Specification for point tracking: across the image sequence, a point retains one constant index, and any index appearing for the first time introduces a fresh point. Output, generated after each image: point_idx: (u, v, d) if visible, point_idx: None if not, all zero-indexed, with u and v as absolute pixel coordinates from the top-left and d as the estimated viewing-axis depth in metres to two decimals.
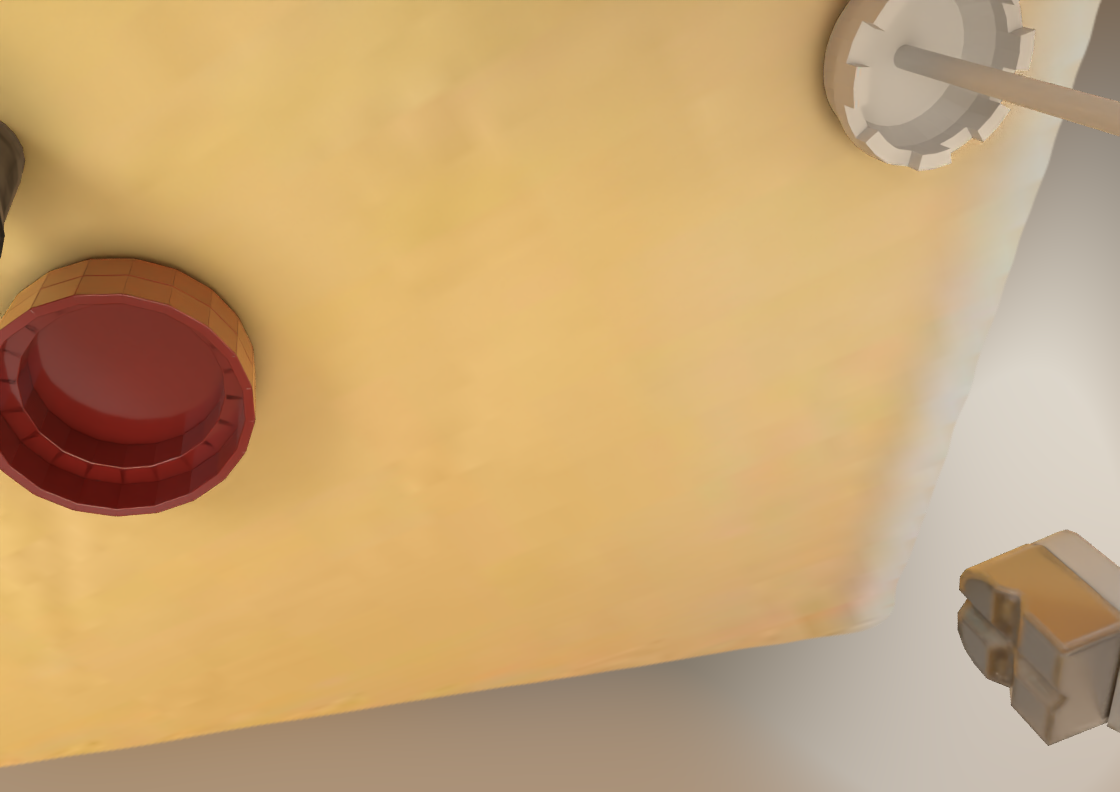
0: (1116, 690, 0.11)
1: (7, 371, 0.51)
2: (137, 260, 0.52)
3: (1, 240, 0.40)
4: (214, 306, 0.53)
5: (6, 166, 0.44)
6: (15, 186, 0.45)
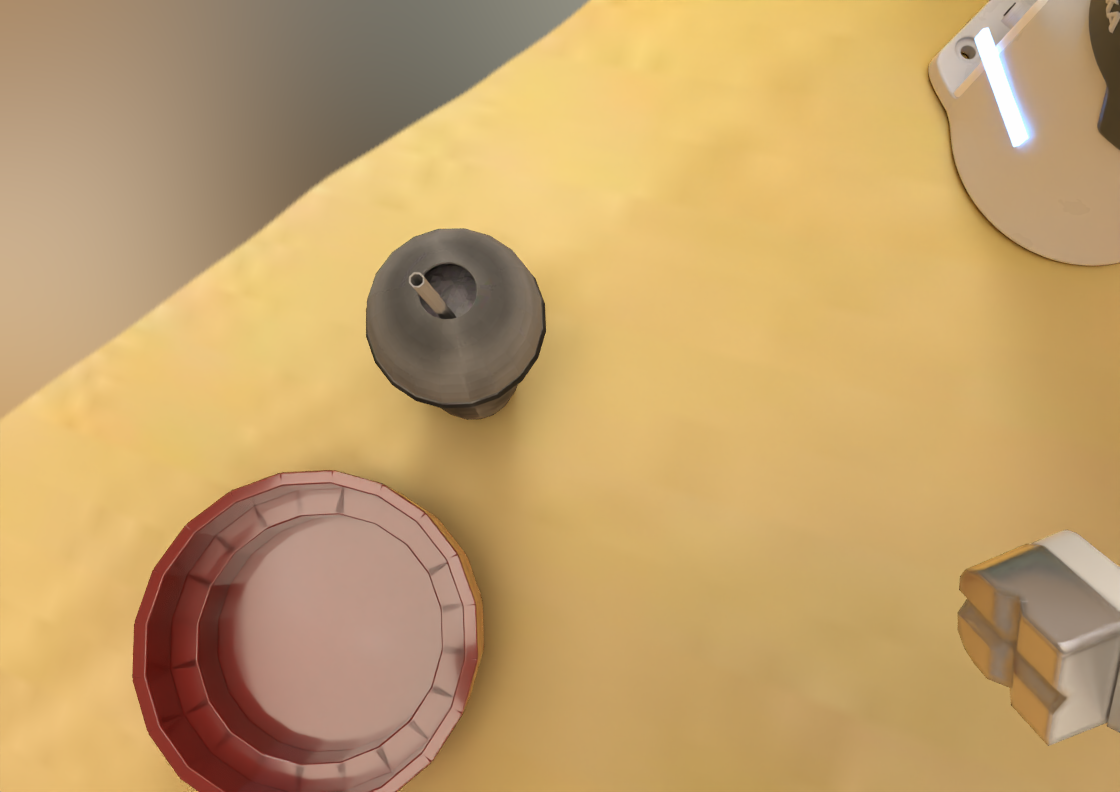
0: (1116, 690, 0.11)
1: (273, 513, 0.42)
2: (467, 558, 0.44)
3: (493, 397, 0.35)
4: (480, 658, 0.42)
5: (513, 388, 0.42)
6: (493, 407, 0.42)
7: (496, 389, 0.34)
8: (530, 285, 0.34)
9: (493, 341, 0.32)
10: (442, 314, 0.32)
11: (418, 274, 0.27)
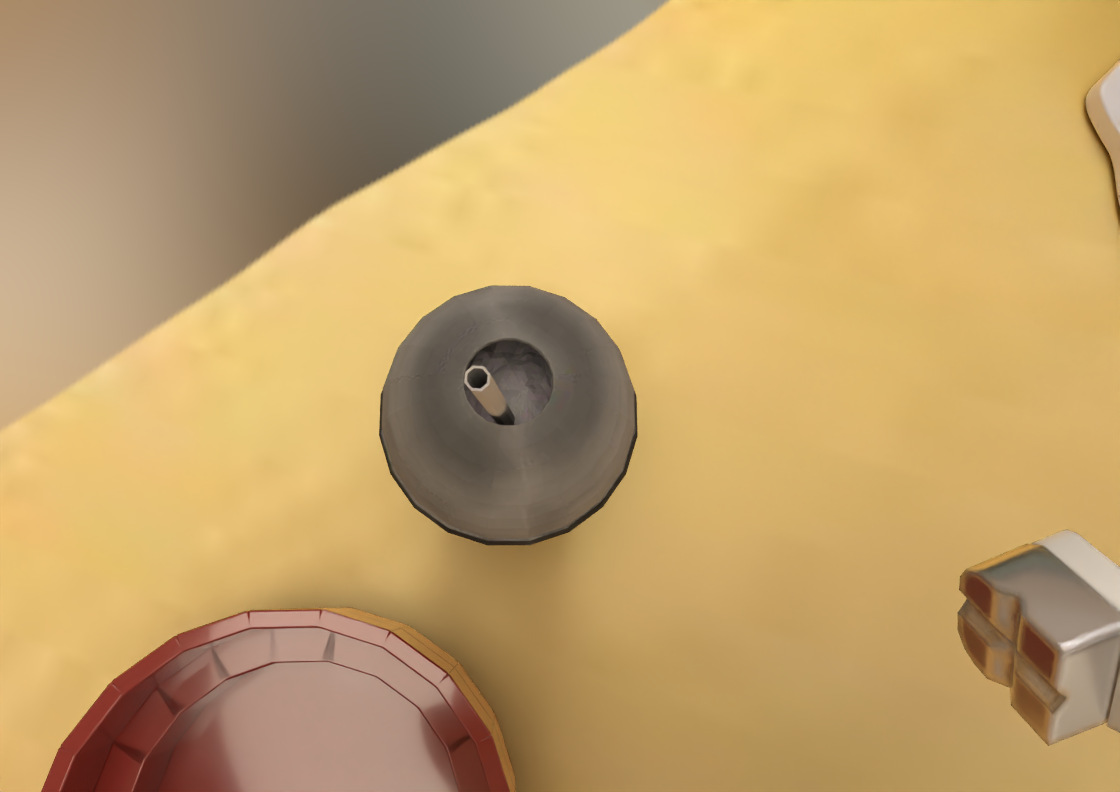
0: (1116, 690, 0.11)
1: (237, 658, 0.31)
2: (497, 720, 0.33)
3: (562, 531, 0.24)
4: None
5: None
6: None
7: (568, 522, 0.23)
8: (624, 372, 0.23)
9: (573, 459, 0.22)
10: (499, 416, 0.21)
11: (480, 368, 0.16)
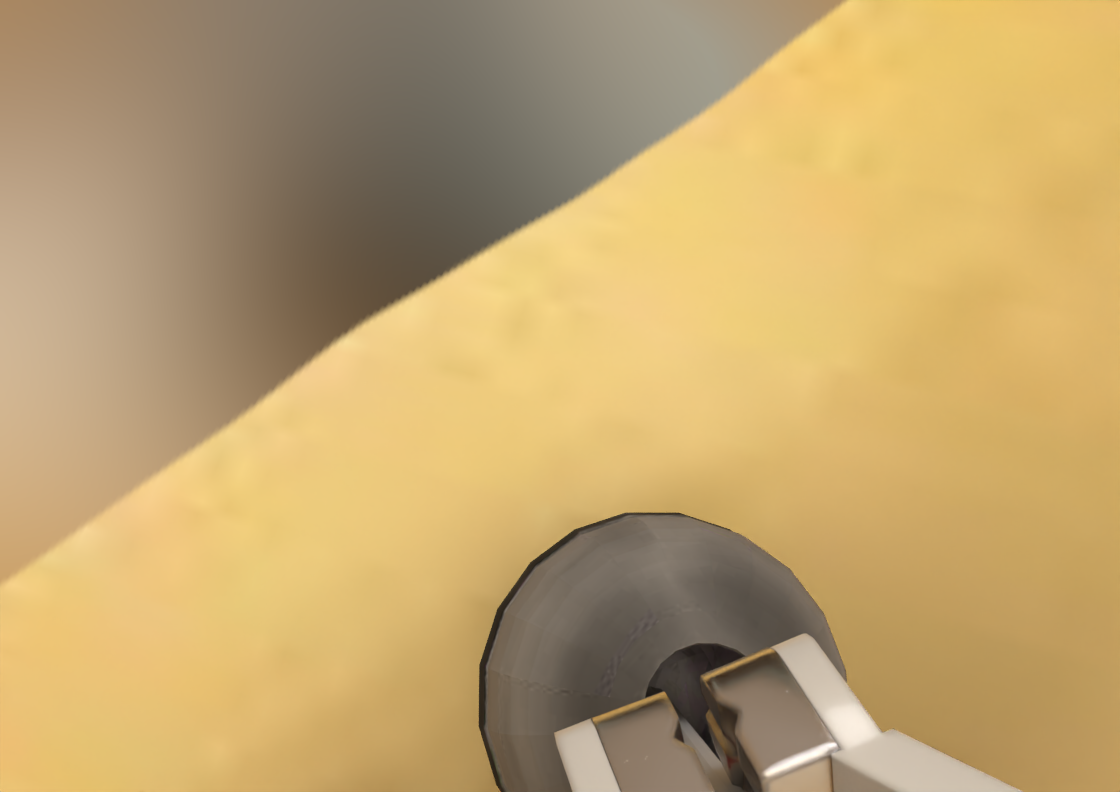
0: None
1: None
2: None
3: None
4: None
5: None
6: None
7: None
8: None
9: None
10: None
11: None
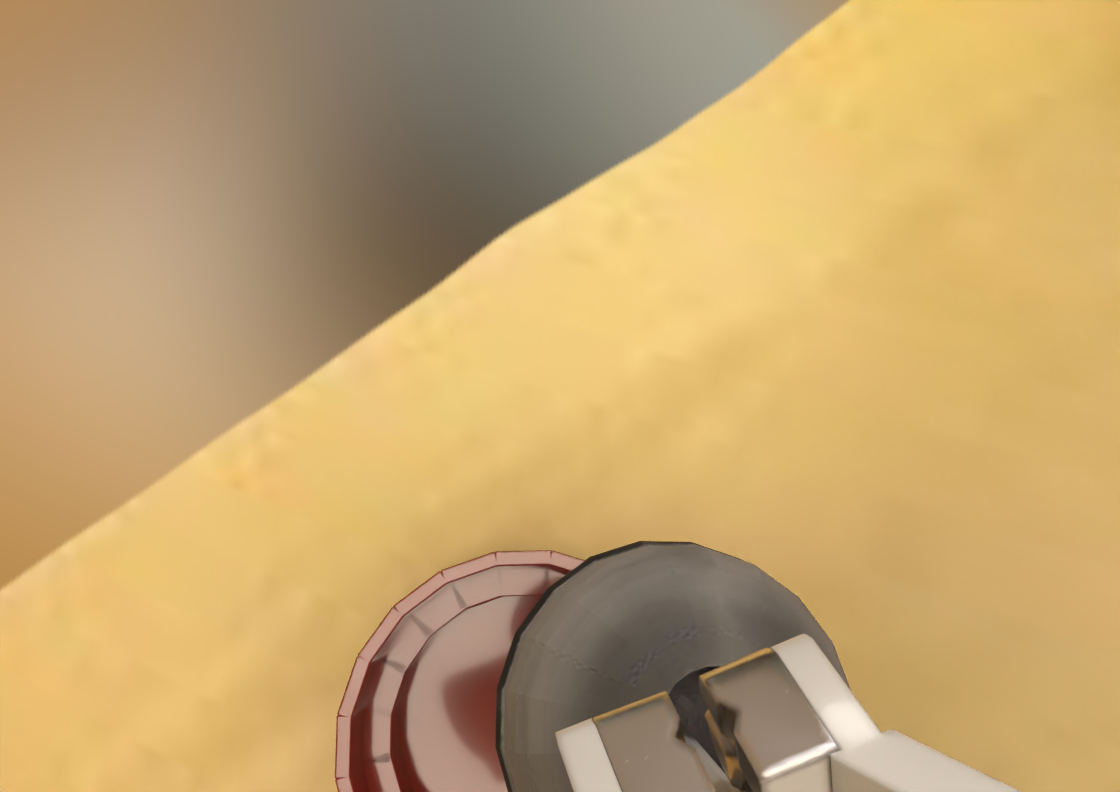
0: None
1: (472, 592, 0.39)
2: None
3: None
4: None
5: None
6: None
7: None
8: None
9: None
10: None
11: None
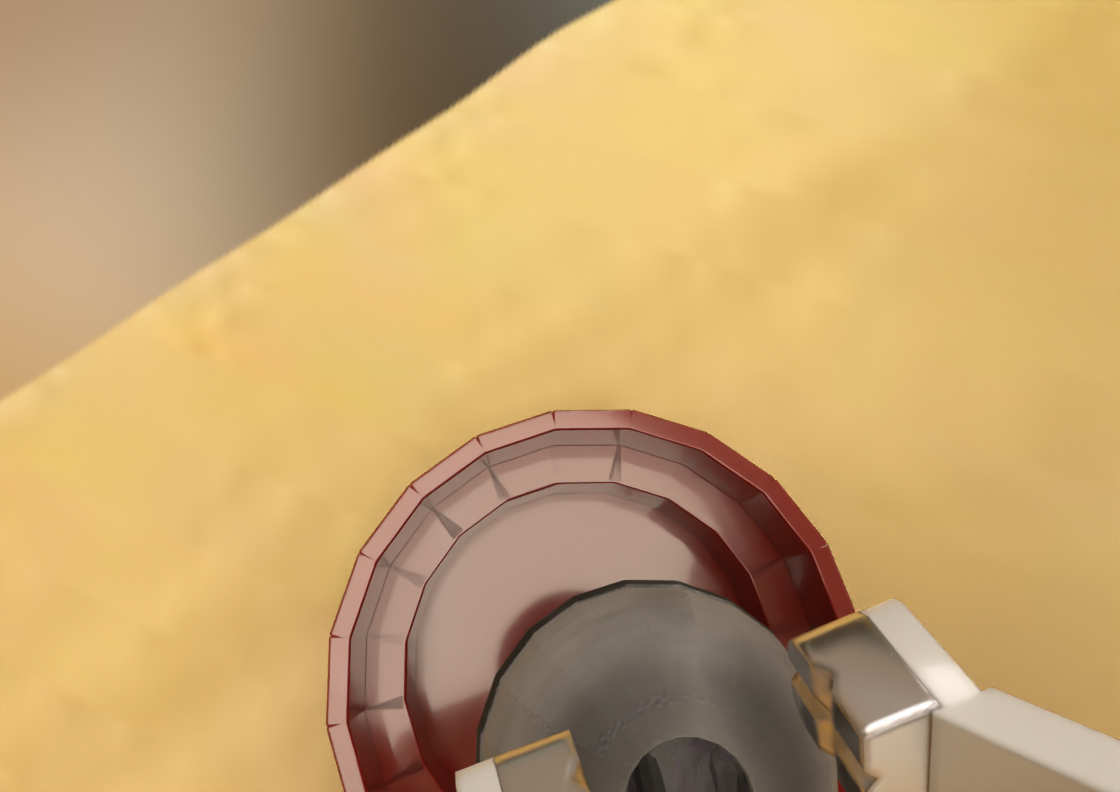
0: (931, 769, 0.10)
1: (517, 478, 0.28)
2: None
3: None
4: None
5: None
6: None
7: None
8: None
9: None
10: None
11: None
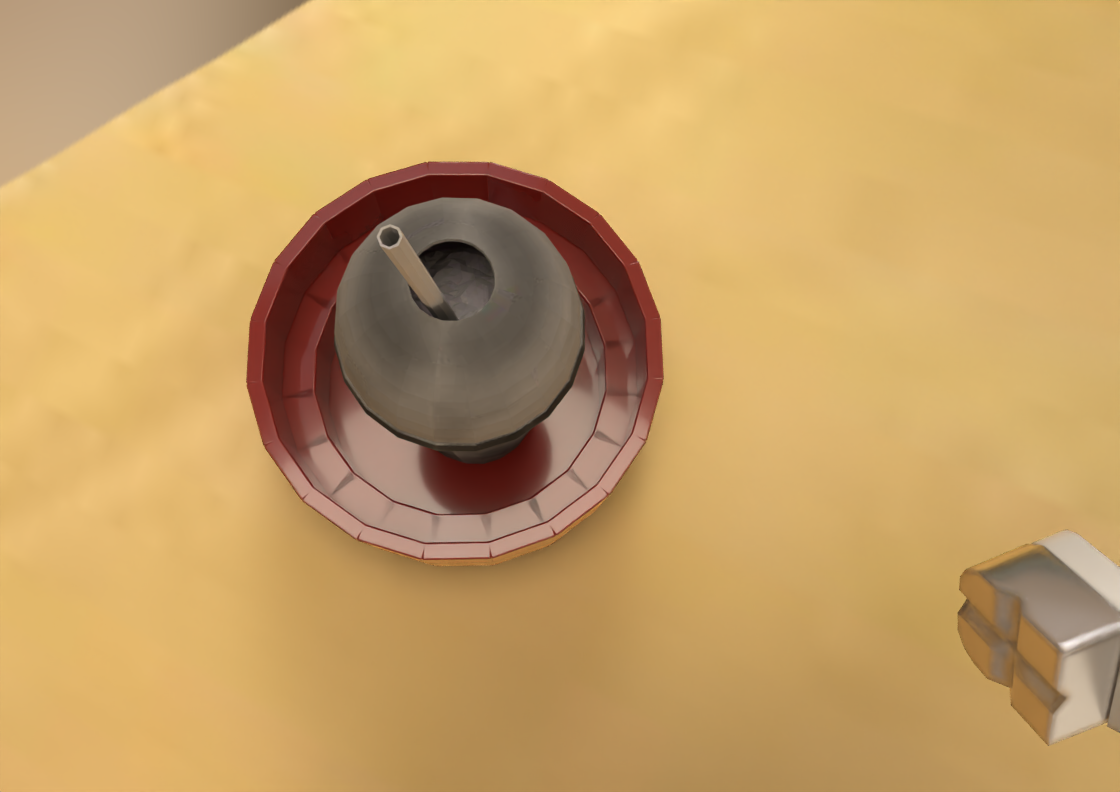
0: (1116, 690, 0.11)
1: None
2: None
3: (469, 448, 0.25)
4: None
5: (512, 442, 0.31)
6: (480, 457, 0.32)
7: (475, 439, 0.24)
8: (571, 316, 0.24)
9: (489, 373, 0.22)
10: (433, 309, 0.22)
11: (396, 230, 0.17)
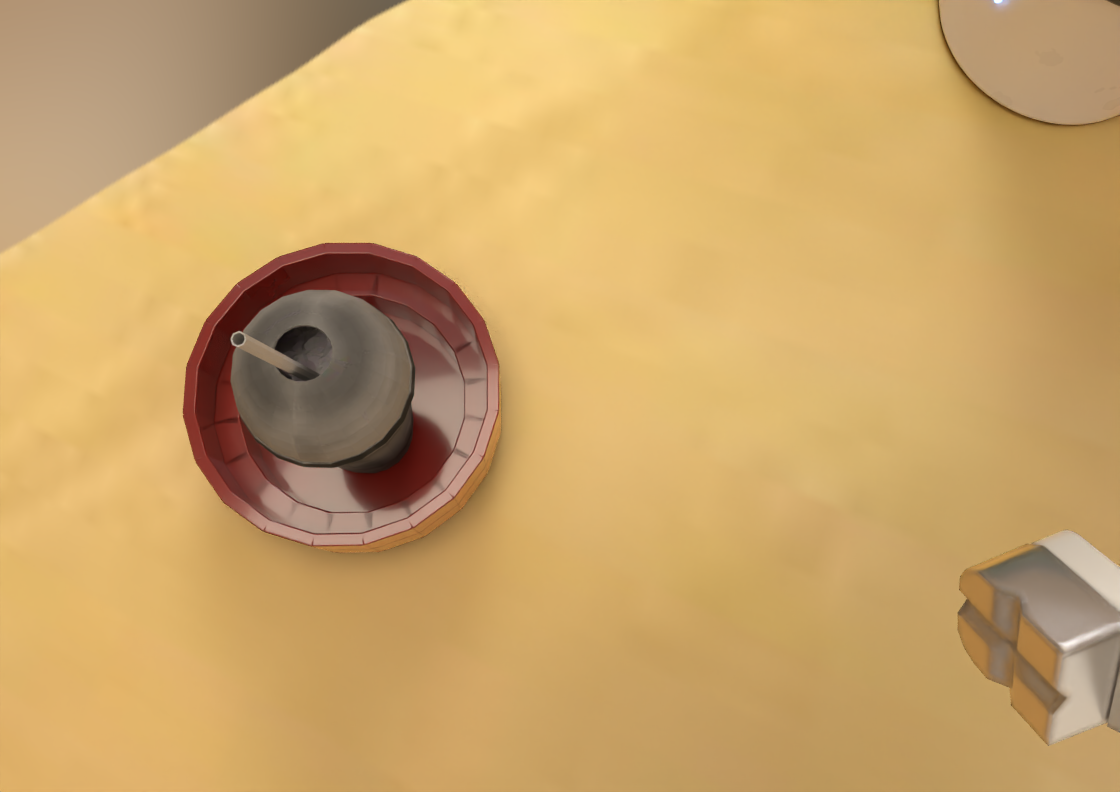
0: (1116, 690, 0.11)
1: None
2: None
3: (327, 465, 0.35)
4: (498, 429, 0.45)
5: (383, 458, 0.42)
6: (360, 469, 0.42)
7: (329, 459, 0.34)
8: (395, 374, 0.34)
9: (331, 416, 0.32)
10: (290, 373, 0.32)
11: (243, 334, 0.27)
